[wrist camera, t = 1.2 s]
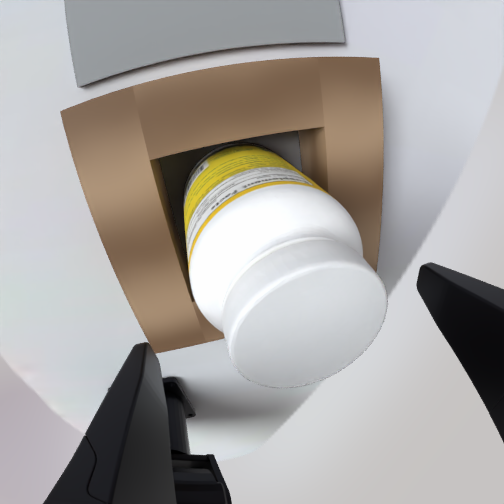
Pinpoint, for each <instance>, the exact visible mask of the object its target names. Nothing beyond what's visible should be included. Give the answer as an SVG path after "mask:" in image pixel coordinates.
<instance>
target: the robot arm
mask: <svg viewBox="0 0 504 504" xmlns="http://www.w3.org/2000/svg"><path fill="white" fill-rule="evenodd" d="M417 290H418V292H419V294H420V296H421V297H422V299H423V301H424V303H425V305H426V306H427V308H428V310H429V312H430V314H431V316H432V317H433V319H434V321H435V323H436V324H437V326H438V328H439V329H440V331H441V332H442V334H443V335H444V337H445V339H446V340H447V342H448V343H449V345H450V346H451V348H452V349H453V351H454V353H455V354H456V356H457V357H458V359H459V361H460V362H461V364H462V366H463V367H464V369H465V371H466V372H467V374H468V376H469V378H470V379H471V381H472V383H473V385H474V386H475V388H476V390H477V392H478V393H479V395H480V397H481V399H482V401H483V402H484V404H485V406H486V408H487V410H488V412H489V414H490V416H491V418H492V420H493V422H494V424H495V426H496V428H497V430H498V432H499V434H500V436H501V438H502V440H503V442H504V289H501V288H499V287H496V286H493V285H491V284H488V283H486V282H483V281H481V280H478V279H475V278H472V277H470V276H467V275H465V274H462V273H459V272H457V271H454V270H451V269H448V268H445V267H443V266H440V265H437V264H434V263H427V264H424V265H422V266H421V267H420V270H419V275H418V280H417ZM195 415H196V414H195V410H194V408H193V407H192V405H191V403H190V402H189V400H188V398H187V397H186V395H185V393H184V391H183V390H182V388H181V386H180V385H179V383H178V381H177V380H176V379H175V378H166V379H162V375H161V368H160V363H159V360H158V358H157V356H156V355H155V353H154V351H153V349H152V347H151V345H150V344H149V343H148V342H144V343H140V344H136V345H135V346H134V347H133V349H132V350H131V352H130V354H129V356H128V357H127V359H126V361H125V362H124V364H123V366H122V368H121V369H120V371H119V373H118V375H117V376H116V378H115V380H114V382H113V383H112V385H111V387H110V388H108V392H107V394H106V396H105V398H104V400H103V401H102V403H101V405H100V407H99V409H98V411H97V412H96V414H95V416H94V418H93V420H92V422H91V424H90V426H89V427H88V429H87V431H86V433H85V434H86V436H84V437H83V439H82V441H81V443H80V445H79V447H78V448H77V450H76V452H75V454H74V456H73V457H72V459H71V461H70V462H69V464H68V466H67V467H66V469H65V470H64V472H63V474H62V475H61V477H60V478H59V480H58V481H57V483H56V484H55V486H54V488H53V489H52V491H51V492H50V494H49V495H48V497H47V499H46V500H45V501H44V503H43V504H232V502H231V497H230V493H229V490H228V488H227V485H226V483H225V481H224V478H223V476H222V474H221V472H220V469H219V467H218V464H217V462H216V459H215V457H214V455H213V454H207V455H191V454H190V447H189V440H188V433H187V425H186V418H191V417H194V416H195Z"/></svg>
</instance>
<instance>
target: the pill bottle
mask: <svg viewBox="0 0 504 504" xmlns="http://www.w3.org/2000/svg"><path fill="white" fill-rule="evenodd" d="M183 209H184V222H185V234H186V247H187V257H188V269H189V277H190V283H191V289H192V293H193V296H194V299H195V302H196V304H197V306H198V307H199V309H200V311H201V312H202V314H203V315H204V316H205V318H206V319H207V320H208V321H209V322H210V323H211V324H212V325H213V326H214V327H216V328H217V329H218V330H220V331H221V332H223V333H224V337H225V341H226V345H227V349H228V353H229V356H230V359H231V361H232V363H233V365H234V367H235V368H236V369H237V371H238V372H239V373H240V374H241V375H242V376H243V377H245V378H246V379H248V380H249V381H252V382H254V383H256V384H258V385H262V386H266V387H271V388H293V387H300V386H305V385H309V384H312V383H315V382H318V381H321V380H323V379H325V378H328V377H330V376H332V375H334V374H336V373H337V372H339V371H341V370H342V369H344V368H345V367H347V366H348V365H350V364H351V363H352V362H353V361H355V360H356V359H357V358H358V357H359V356H360V355H361V354H362V353H363V352H364V351H365V350H366V349H367V348H368V347H369V345H370V344H371V343H372V342H373V340H374V339H375V337H376V336H377V334H378V332H379V331H380V329H381V327H382V324H383V322H384V319H385V316H386V311H387V302H388V300H387V293H386V288H385V286H384V284H383V282H382V280H381V278H380V277H379V276H378V275H377V273H376V272H375V271H374V270H373V269H372V267H371V266H370V265H369V264H368V263H367V261H366V260H365V259H364V258H363V248H362V242H361V237H360V234H359V231H358V228H357V226H356V224H355V222H354V221H353V219H352V217H351V216H350V214H349V213H348V212H347V211H346V209H345V208H344V207H343V206H342V205H341V204H340V203H339V202H338V201H337V200H336V199H335V198H333V197H332V196H331V195H330V194H328V193H327V192H326V191H325V190H323V189H322V188H321V187H320V186H318V185H317V184H316V183H315V182H313V181H312V180H311V179H310V178H308V177H307V176H305V175H304V174H303V173H302V172H300V171H299V170H298V169H296V168H295V167H294V166H292V165H291V164H290V163H288V162H287V161H285V160H284V159H283V158H281V157H280V156H278V155H277V154H275V153H274V152H272V151H271V150H269V149H267V148H265V147H262V146H259V145H255V144H250V143H234V144H228V145H225V146H222V147H219V148H217V149H215V150H213V151H211V152H210V153H208V154H207V155H205V156H204V157H203V158H202V159H201V160H200V161H199V162H198V163H197V164H196V165H195V167H194V168H193V169H192V171H191V173H190V175H189V177H188V179H187V182H186V185H185V189H184V196H183Z"/></svg>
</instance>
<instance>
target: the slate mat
mask: <svg viewBox="0 0 504 504" xmlns="http://www.w3.org/2000/svg"><path fill="white" fill-rule="evenodd" d="M64 3H65V13H66V21H67V29H68V36H69V43H70V50H71V56H72V61H73V67H74V72H75V77H76V83H77V87H82V86H85V85H87V84H90V83H93V82H96V81H99V80H101V79H104V78H107V77H110V76H114V75H117V74H120V73H123V72H126V71H130V70H133V69H137V68H140V67H144V66H148V65H152V64H156V63H160V62H164V61H168V60H172V59H177V58H182V57H186V56H192V55H197V54H202V53H208V52H214V51H220V50H227V49H234V48H242V47H251V46H261V45H273V44H289V43H344V42H345V39H344V31H343V24H342V18H341V11H340V5H339V0H64Z"/></svg>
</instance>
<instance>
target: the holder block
mask: <svg viewBox="0 0 504 504" xmlns="http://www.w3.org/2000/svg"><path fill="white" fill-rule="evenodd" d="M60 113H61V117H62V121H63V125H64V129H65V132H66V136H67V140H68V143H69V147H70V150H71V154H72V157H73V161H74V164H75V167H76V170H77V174H78V177H79V180H80V183H81V186H82V189H83V192H84V195H85V198H86V201H87V203H88V206H89V209H90V212H91V215H92V217H93V220H94V223H95V225H96V228H97V230H98V233H99V236H100V238H101V241H102V243H103V245H104V248H105V250H106V253H107V255H108V258H109V260H110V262H111V265H112V267H113V269H114V271H115V274H116V276H117V278H118V280H119V283H120V285H121V287H122V289H123V291H124V294H125V296H126V298H127V300H128V302H129V304H130V306H131V308H132V310H133V312H134V314H135V316H136V318H137V320H138V322H139V324H140V326H141V328H142V330H143V332H144V334H145V336H146V338H147V340H148V342H149V343H150V345H151V347H152V349H153V351H154V353H155V354H156V353H161V352H165V351H170V350H175V349H180V348H184V347H189V346H193V345H198V344H202V343H207V342H211V341H215V340H219V339H224V338H225V337H224V333H223V332H221V331H220V330H218V329H217V328H216V327H214V326H213V325H212V324H211V323H210V322H209V321H208V320H207V319H206V318H205V316H204V315H203V314H202V312H201V311H200V309H199V307H198V306H197V304H196V302H195V299H194V296H193V293H192V289H191V283H190V277H189V269H188V264H187V260H186V257H185V254H184V250H183V247H182V243H181V240H180V237H179V233H178V230H177V226H176V222H175V219H174V215H173V212H172V208H171V204H170V201H169V197H168V193H167V189H166V185H165V182H164V178H163V174H162V170H161V166H160V162H159V158H160V157H164V156H168V155H172V154H176V153H180V152H184V151H188V150H193V149H197V148H201V147H206V146H210V145H215V144H220V143H225V142H230V141H235V140H240V139H246V138H251V137H257V136H263V135H269V134H275V133H281V132H288V131H295V130H298V133H299V143H300V153H301V165H302V173H303V174H304V175H305V176H307V177H308V178H310V179H311V180H312V181H313V182H315V183H316V184H317V185H318V186H320V187H321V188H322V189H323V190H325V191H326V192H327V193H328V194H330V195H331V196H332V197H333V198H335V199H336V200H337V201H338V202H339V203H340V204H341V205H342V206H343V207H344V208H345V209H346V211H347V212H348V213H349V214H350V216H351V217H352V219H353V221H354V222H355V224H356V226H357V228H358V231H359V234H360V237H361V242H362V248H363V258H364V259H365V260H366V261H367V263H368V264H369V265H370V266H371V267H372V269H373V270H374V271H375V272H376V271H377V262H378V252H379V241H380V229H381V214H382V195H383V107H382V89H381V75H380V63H379V58H369V57H307V58H289V59H276V60H265V61H256V62H248V63H240V64H233V65H226V66H220V67H214V68H208V69H203V70H197V71H192V72H187V73H183V74H178V75H174V76H169V77H165V78H161V79H157V80H153V81H149V82H146V83H142V84H138V85H135V86H131V87H128V88H125V89H121V90H118V91H115V92H112V93H109V94H106V95H103V96H100V97H97V98H94V99H91V100H88V101H86V102H83V103H80V104H78V105H75V106H73V107H70V108H67V109H65V110H62V111H60Z"/></svg>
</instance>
